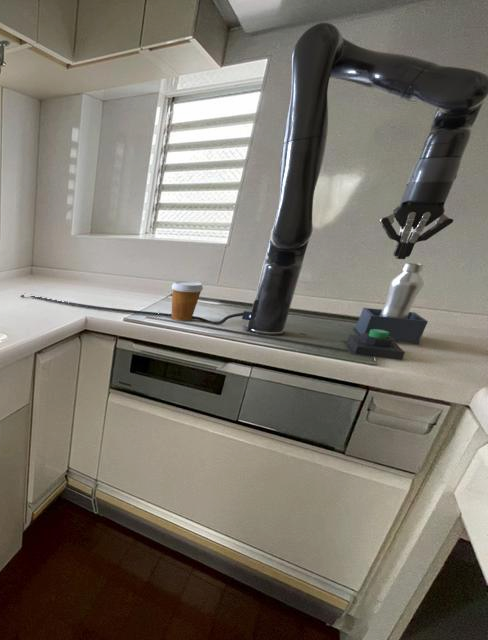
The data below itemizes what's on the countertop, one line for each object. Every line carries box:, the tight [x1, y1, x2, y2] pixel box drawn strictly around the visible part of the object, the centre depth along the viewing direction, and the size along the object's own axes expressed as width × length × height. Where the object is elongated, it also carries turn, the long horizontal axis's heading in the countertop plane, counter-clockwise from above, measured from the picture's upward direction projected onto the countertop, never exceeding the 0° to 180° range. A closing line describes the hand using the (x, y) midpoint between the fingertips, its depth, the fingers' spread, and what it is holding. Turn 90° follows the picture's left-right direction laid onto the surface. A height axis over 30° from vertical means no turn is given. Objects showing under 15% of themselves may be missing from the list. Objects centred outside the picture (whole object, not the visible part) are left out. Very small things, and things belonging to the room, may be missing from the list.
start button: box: [368, 329, 389, 339], centre depth 104 cm, size 4×4×2 cm
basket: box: [355, 307, 429, 345], centre depth 117 cm, size 12×12×7 cm
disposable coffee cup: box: [170, 280, 204, 322], centre depth 135 cm, size 10×10×12 cm
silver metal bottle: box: [379, 262, 424, 319], centre depth 114 cm, size 6×7×20 cm
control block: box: [346, 333, 406, 361], centre depth 105 cm, size 9×12×4 cm
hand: (399, 258), depth 99 cm, fingers closed
